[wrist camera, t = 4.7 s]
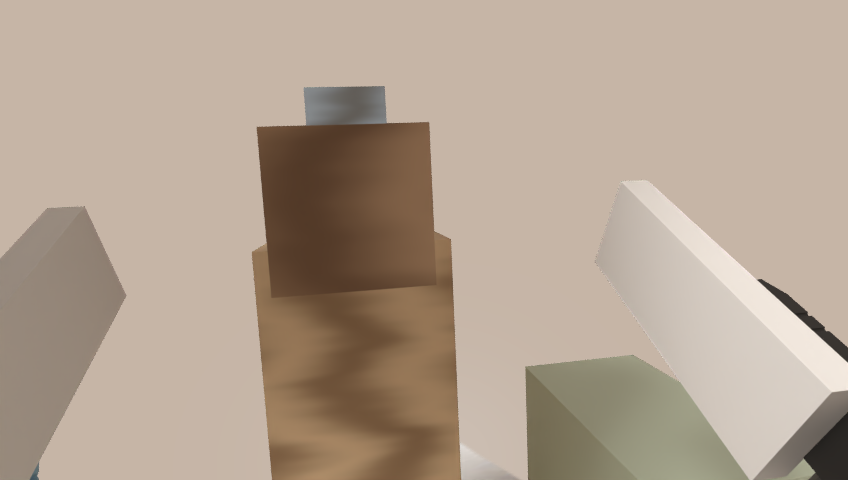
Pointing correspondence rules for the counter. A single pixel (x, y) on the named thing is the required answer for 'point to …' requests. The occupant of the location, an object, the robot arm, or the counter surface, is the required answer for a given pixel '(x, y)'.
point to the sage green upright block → (622, 426)
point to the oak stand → (361, 380)
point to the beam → (347, 197)
